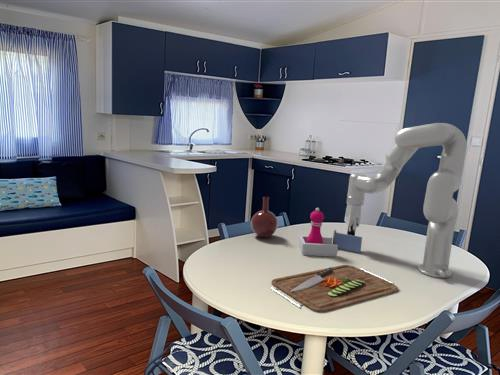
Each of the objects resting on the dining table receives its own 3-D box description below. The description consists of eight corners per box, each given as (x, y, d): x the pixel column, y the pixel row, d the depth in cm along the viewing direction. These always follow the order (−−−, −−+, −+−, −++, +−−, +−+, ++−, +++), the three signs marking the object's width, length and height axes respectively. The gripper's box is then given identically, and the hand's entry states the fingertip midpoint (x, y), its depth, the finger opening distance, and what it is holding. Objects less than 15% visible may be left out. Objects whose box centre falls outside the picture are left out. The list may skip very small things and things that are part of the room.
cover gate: (360, 252, 189) (362, 235, 188) (359, 252, 188) (361, 235, 187) (332, 246, 196) (334, 229, 194) (331, 246, 195) (333, 230, 193)
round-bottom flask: (250, 232, 212) (252, 193, 209) (276, 233, 212) (279, 195, 208) (249, 239, 199) (252, 198, 196) (277, 241, 199) (280, 200, 195)
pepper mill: (323, 254, 185) (327, 210, 181) (306, 252, 185) (310, 209, 181) (320, 248, 192) (324, 206, 188) (305, 247, 192) (308, 205, 188)
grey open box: (336, 256, 182) (337, 245, 182) (302, 254, 182) (303, 243, 181) (330, 247, 195) (331, 237, 194) (298, 245, 194) (299, 235, 193)
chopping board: (310, 317, 127) (311, 308, 127) (261, 284, 149) (262, 276, 149) (406, 290, 151) (407, 282, 151) (351, 266, 173) (352, 259, 173)
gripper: (343, 196, 197) (338, 233, 200) (350, 204, 182) (345, 244, 186) (359, 197, 197) (354, 234, 200) (367, 205, 182) (362, 245, 186)
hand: (350, 239), depth 193 cm, fingers closed
